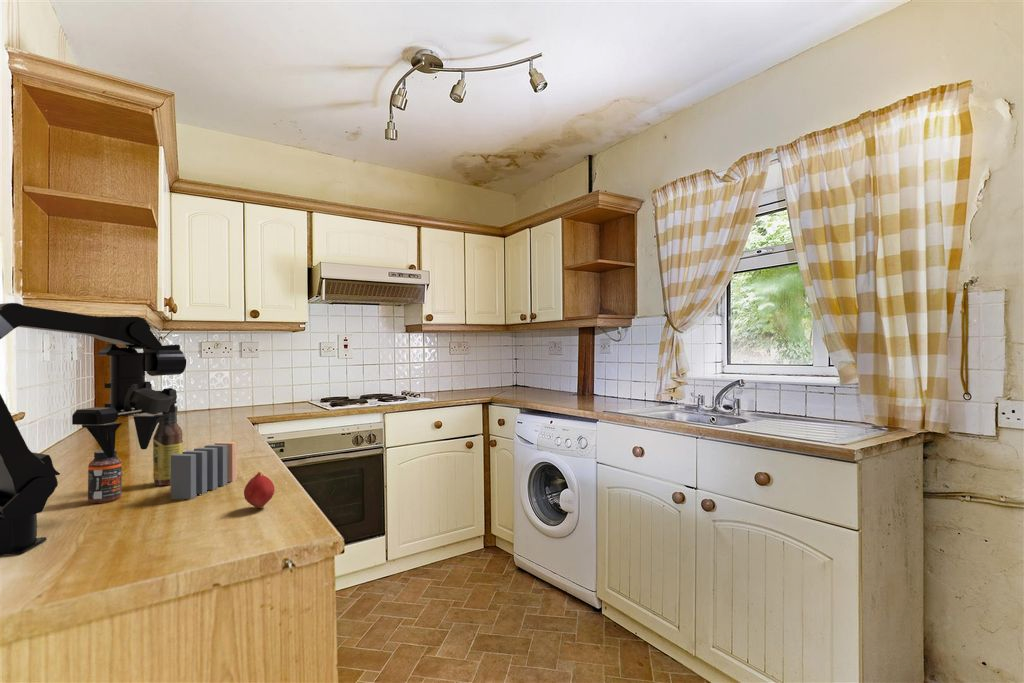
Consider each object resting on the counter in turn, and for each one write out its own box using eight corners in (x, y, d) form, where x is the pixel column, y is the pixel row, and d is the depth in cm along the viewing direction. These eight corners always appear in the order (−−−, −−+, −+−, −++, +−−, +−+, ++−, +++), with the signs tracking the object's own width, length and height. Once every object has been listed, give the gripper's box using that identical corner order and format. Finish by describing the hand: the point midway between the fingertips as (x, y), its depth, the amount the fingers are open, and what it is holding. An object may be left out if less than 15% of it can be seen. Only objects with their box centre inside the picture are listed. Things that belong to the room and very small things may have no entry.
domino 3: (212, 490, 120) (212, 449, 120) (193, 490, 120) (193, 448, 120) (217, 488, 121) (217, 447, 121) (198, 488, 122) (198, 447, 122)
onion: (237, 510, 105) (237, 472, 105) (262, 502, 110) (262, 466, 110) (255, 514, 102) (255, 475, 102) (280, 506, 107) (280, 469, 107)
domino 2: (202, 495, 116) (202, 452, 116) (182, 494, 117) (182, 452, 117) (207, 493, 118) (207, 450, 118) (187, 492, 118) (187, 450, 118)
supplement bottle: (102, 505, 109) (102, 453, 109) (80, 503, 110) (80, 452, 110) (128, 496, 115) (128, 448, 115) (107, 495, 116) (107, 447, 116)
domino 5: (232, 482, 127) (232, 443, 127) (214, 482, 127) (214, 443, 127) (236, 480, 128) (236, 442, 128) (218, 480, 129) (218, 442, 129)
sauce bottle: (156, 481, 128) (156, 404, 128) (185, 478, 131) (184, 403, 131) (150, 488, 122) (150, 407, 122) (180, 485, 125) (180, 406, 125)
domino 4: (222, 486, 123) (222, 446, 123) (204, 486, 124) (204, 446, 124) (227, 484, 125) (227, 445, 125) (209, 484, 125) (209, 444, 125)
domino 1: (190, 499, 113) (190, 455, 113) (170, 499, 113) (170, 455, 113) (196, 497, 114) (196, 454, 114) (176, 496, 115) (176, 453, 115)
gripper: (124, 380, 92) (123, 464, 92) (197, 374, 111) (197, 444, 110) (69, 380, 93) (69, 463, 93) (151, 374, 112) (151, 444, 111)
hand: (127, 453), depth 102 cm, fingers open, 8 cm apart
